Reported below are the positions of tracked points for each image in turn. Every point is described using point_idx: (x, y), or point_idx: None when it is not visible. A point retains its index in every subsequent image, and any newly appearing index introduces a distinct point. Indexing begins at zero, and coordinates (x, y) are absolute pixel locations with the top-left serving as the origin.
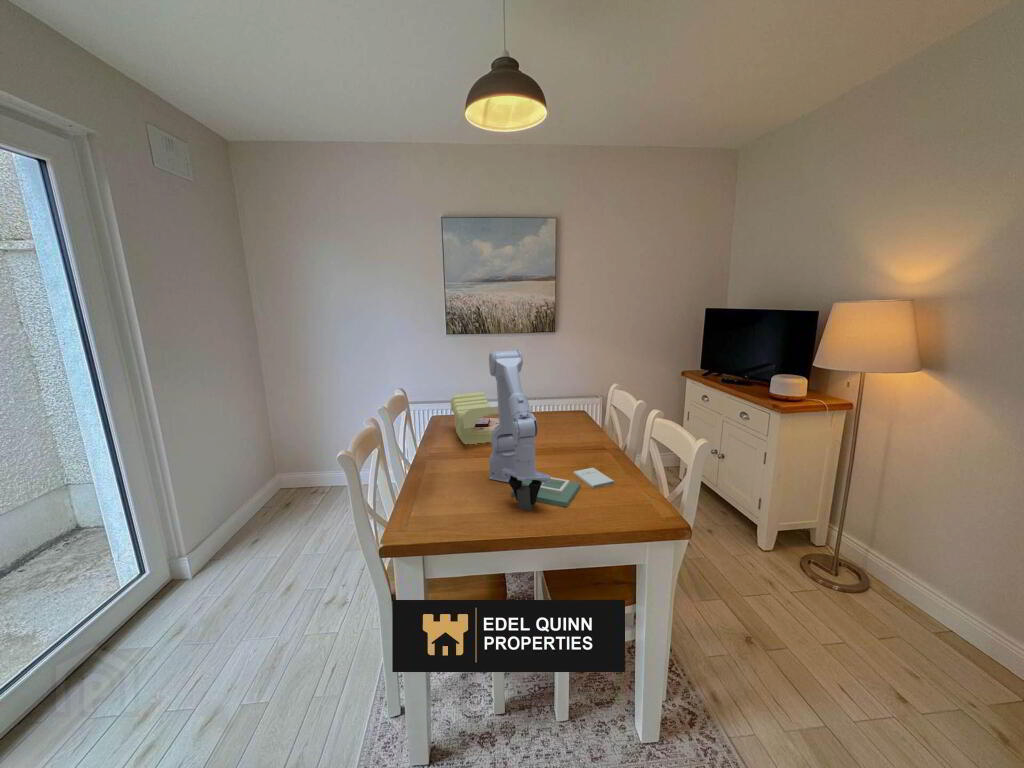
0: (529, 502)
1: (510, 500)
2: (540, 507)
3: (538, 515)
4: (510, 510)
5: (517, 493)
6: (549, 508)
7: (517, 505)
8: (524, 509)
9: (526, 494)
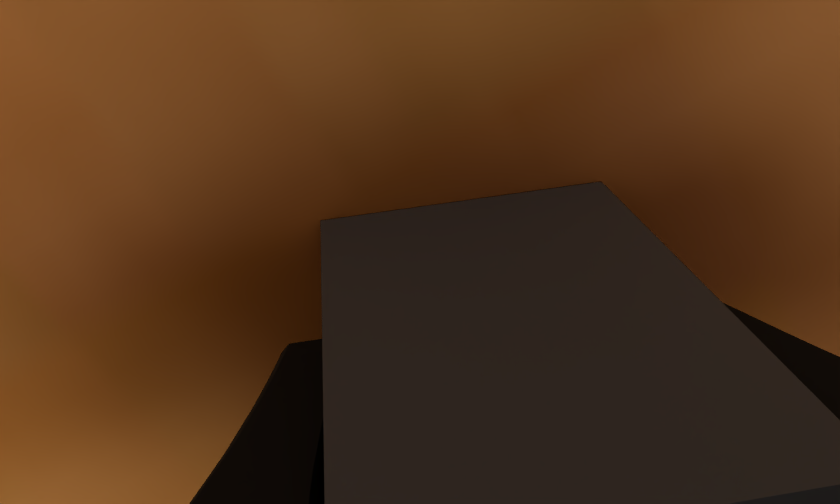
0: (333, 317)
1: (833, 350)
2: (228, 422)
3: (66, 167)
4: (704, 43)
5: (775, 375)
6: (65, 473)
7: (624, 206)
8: (447, 206)
9: (448, 447)
